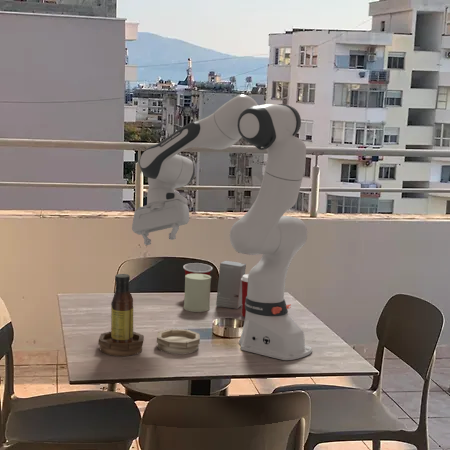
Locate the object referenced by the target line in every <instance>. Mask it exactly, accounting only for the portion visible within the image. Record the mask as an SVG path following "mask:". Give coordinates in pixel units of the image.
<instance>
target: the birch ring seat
mask: <svg viewBox="0 0 450 450" xmlns="http://www.w3.org/2000/svg"><path fill="white" fill-rule="evenodd" d="M200 337H201V336H200V333H199V332H196V331H193V330H189V329H184V328H183V329H182V328H181V329H180V328H170V329H163V330H162V331H161V330H160V331H158V332H157V335H156V343H157V349H158V350H159V351H160V352H161V351H162V352H164V353H167V354H173V355H185V354H191V353H195V352H197V351H198V350H199V345H200V344H201V342H200V341H201V340H200Z"/></svg>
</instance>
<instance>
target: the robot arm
mask: <svg viewBox="0 0 450 450" xmlns="http://www.w3.org/2000/svg"><path fill="white" fill-rule="evenodd" d="M301 126H302V119H301V115H300V112H299V111H298V110H297V109H296V108H295V107H292V106H291V105H288V104H283V103H280V104H279V103H277V104H273V103H266V104H260V105H259V104H258V103H257V101H256V100H255V99H254V98H253V97H251V96H250V95H248V94H238V95H236V96H234V97H233V98H231V99H230V100H228V101H227V102H225V103H223V104H222V105H221V106H220V107H219V108H217V109H216V110H215V111H214V112H213V113H212V114H209V115H208V116H206V117H204V118H202V119H200V120H199V119H198V120H196V121H193V122H189V123H187V124H184V126H182V127H180V128H179V129H177V130H176V131H174V132H172V133H171V134H170V135H169V136H167V137H166V138H164V139H163V140H161V141H160V142H158V143H157V144H154V145H153V144H152V145H151V146H149V147H147V148H146V149H145V150H144V151H143V152H142V153H141V155H140V157H139V162H138V165H139V168H140V170H141V173H142V174H143V176H144V177H145V178H147V183H148V189H147V193H146V196H147V198H146V205H143V206H139V207H137V208H136V209H135V210H134V212H133V219H132V225H131V229H132V232H133V233H135V234H137V235H138V236H139V235H141V236H142V238H143V242H144V243H143V244H144V245H145V246H149V245H150V246H151V244H152V239H150V238H149V234H150V233H153V232H157V231H158V232H159V231H162V230H167V229H171V232H169V233H168V239H169V240H170V241H173V240H176V235H177V233H178V231H179V230H180V226H185V225H187V224H188V223H189V222H190V208H189V206H188V202H189V201H188V199H187V198H186V197H185V196H184V195H182V194H180V193H178V192H175V189H181V188H184V187H186V186H189V184H191V183H192V182H193V180H194V179H195V175H196V174H195V172H196V169H195V168H196V166H195V164H194V162H193V160H192V159H191V158H188V157H186V156H183V155H180V154H179V153H180V152H182V151H184V150H186V149H190V148H203V149H211V150H218V151H219V150H225V149H228V148H230V147H232V146H234V145H235V144H236V143H238V141H240V140H241V139H243V140H245V142H247V143H249V144H251V145H253V146H254V147H255V148H256V149H257V150H259V151H265V150H266V152H267V160H266V164H265V167H264V172H263V177H262V179H261V180H262V181H261V184H260V187H259V191H258V194H257V196H256V198H255V201H254V202H253V203H252V205H251V207H250V208H249V209H248V211H246V213H245V214H244V215H243V216H242V217H241V218H240V219H238V220H236V221H235V222H234V223H233V224H232V226H231V228H230V232H229V240H230V241H229V242H230V244H231V246H232V248H233V250H235V252H237V253H238V254H243V255H249V256H250V255H251V256H257V255H261V258H260V259H259V261H258V262H257V263H256V264H255V265H254V266H253V267H252V268H251V269H250V270H249V272H248V274H249V275H248V290H247V297H246V300H245V310H246V314H245V317H244V321H243V327H242V332H241V335H240V337H239V340H238V343H239V345H240V351H241V350H242V351H244V352H249V353H254V354H257V355H262V356H265V357H270V358H273V359H278V360H281V361H292V360H298V359H302V358H304V357H307V356H309V355H311V353H312V352H313V347H311V346H309V345H308V344H306V341H305V339H306V338H305V333H304V330H303V329H302V327H300V326H299V324H298V323H297V322H296V321H295V320H294V318H292V316H291V315H290V314H289V309H291V308H292V307H291V306H292V304H287V303H286V300H285V288H286V279H287V274H288V270H289V268H290V265H291V262H292V260H294V259H293V258H294V257H295V256H296V254H297V253H298V252H299V250H301V249H302V247H304V245H306V243H307V240H308V228H307V225H306V223H305V222H304V220H302V219H301V218H299V217H295V216H291V215H290V216H289V215H284V214H286V212H288V211H289V210H291V209H292V208H293V207H294V206H295V205H296V203H297V202H298V197H299V195H300V190H301V185H302V182H303V177H304V173H305V168H306V159H307V146H306V143H305V142H304V141H303V140H302V139H301V138H299V137H297V134H298V133H299V132H300V129H301Z"/></svg>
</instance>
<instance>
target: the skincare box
mask: <svg viewBox="0 0 450 450" xmlns="http://www.w3.org/2000/svg"><path fill="white" fill-rule="evenodd" d="M246 268H247V263H243V262H237V261H231V260H230V261H229V260H224V261H221V262H220V265H219V273H218V274H219V275H218V282H217V292H216V304H215V306H216V307H217V308H218V307H219V308H227V309H235V310H238V309H239V308H241V307H242V280H241V279H242V276H243V275H245V274H246Z"/></svg>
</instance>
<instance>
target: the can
mask: <svg viewBox="0 0 450 450" xmlns="http://www.w3.org/2000/svg"><path fill="white" fill-rule="evenodd" d="M184 279H185V280H184V302H183V309H184V311H185V310H186V311H187V312H192V313H194V312H195V313H204V312H208V311H210V308H211V307H210V301H211V299H210V298H211V281H212V276H211V275H206V274H187V275H185V276H184Z"/></svg>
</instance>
